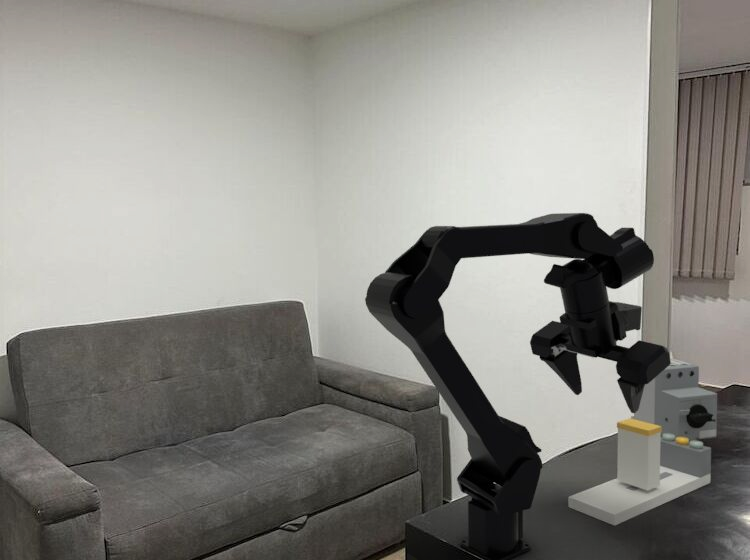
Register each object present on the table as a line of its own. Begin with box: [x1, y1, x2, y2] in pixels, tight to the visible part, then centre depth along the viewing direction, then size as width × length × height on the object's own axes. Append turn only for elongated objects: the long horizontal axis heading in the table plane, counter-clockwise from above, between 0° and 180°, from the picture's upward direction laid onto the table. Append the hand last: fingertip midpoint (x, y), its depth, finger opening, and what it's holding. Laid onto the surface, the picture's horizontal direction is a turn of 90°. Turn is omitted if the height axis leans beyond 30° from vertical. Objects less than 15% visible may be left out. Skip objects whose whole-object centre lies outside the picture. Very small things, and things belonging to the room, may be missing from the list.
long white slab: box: [567, 433, 712, 526], centre depth 102 cm, size 24×8×6 cm, turn 126°
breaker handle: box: [616, 417, 662, 491], centre depth 101 cm, size 3×5×9 cm, turn 36°
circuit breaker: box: [630, 358, 718, 442], centre depth 120 cm, size 8×14×15 cm, turn 15°
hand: (605, 402), depth 97 cm, fingers open, 9 cm apart
